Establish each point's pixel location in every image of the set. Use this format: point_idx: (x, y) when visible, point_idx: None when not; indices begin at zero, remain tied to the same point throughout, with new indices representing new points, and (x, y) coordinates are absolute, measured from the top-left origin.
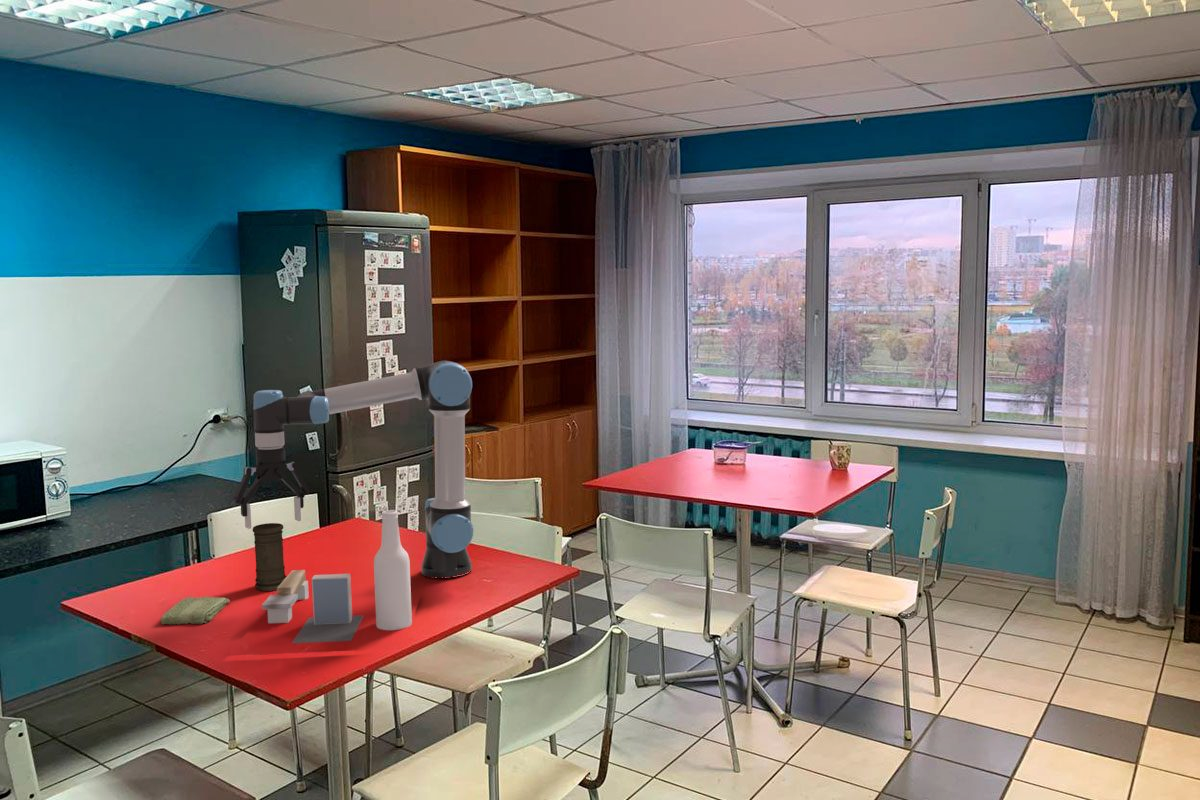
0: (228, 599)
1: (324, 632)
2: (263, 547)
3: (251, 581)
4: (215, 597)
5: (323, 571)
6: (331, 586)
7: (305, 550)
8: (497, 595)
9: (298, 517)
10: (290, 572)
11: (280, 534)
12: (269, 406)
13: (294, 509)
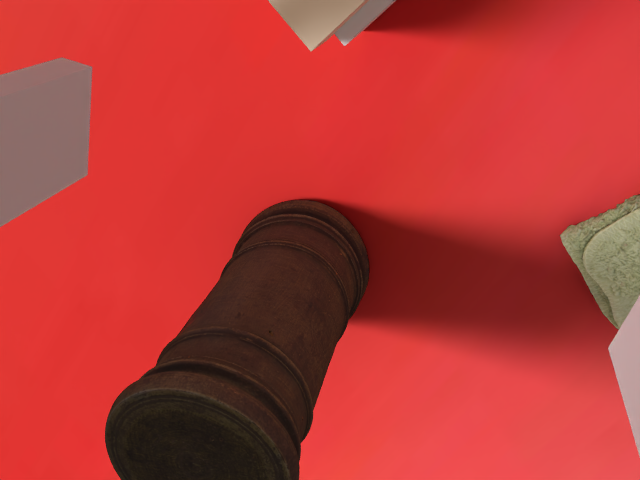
0: (574, 233)
1: None
2: (300, 356)
3: None
4: (608, 286)
5: (64, 237)
6: None
7: (11, 464)
8: None
9: (61, 76)
10: (345, 17)
11: (170, 359)
12: None
13: (7, 219)
